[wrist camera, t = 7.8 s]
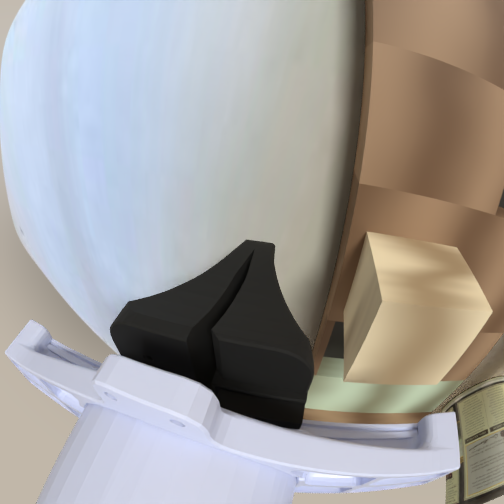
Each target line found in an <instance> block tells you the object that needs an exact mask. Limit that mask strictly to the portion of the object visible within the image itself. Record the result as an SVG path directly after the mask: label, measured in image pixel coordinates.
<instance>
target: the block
mask: <svg viewBox="0 0 504 504" xmlns="http://www.w3.org/2000/svg"><path fill="white" fill-rule="evenodd" d="M492 312H493V311H492V309H491V307H490V305H489V303H488V301H487V299H486V297H485V295H484V293H483V291H482V289H481V287H480V286H479V284H478V282H477V280H476V278H475V277H474V275H473V273H472V271H471V270H470V268H469V266H468V265H467V263H466V261H465V260H464V258H463V256H462V255H461V253H460V252H459V250H458V248H457V247H452V246H447V245H442V244H437V243H431V242H426V241H420V240H415V239H409V238H403V237H398V236H392V235H386V234H380V233H374V232H366V236H365V240H364V244H363V248H362V252H361V255H360V259H359V263H358V266H357V270H356V273H355V276H354V280H353V283H352V286H351V290H350V293H349V296H348V299H347V302H346V305H345V308H344V374H343V382H353V383H367V384H388V385H437V384H438V383H439V382H440V381H441V379H442V378H443V377H444V376H445V375H446V374H447V373H448V372H449V370H450V369H451V368H452V367H453V366H454V364H455V363H456V362H457V361H458V360H459V358H460V357H461V356H462V355H463V353H464V352H465V351H466V349H467V348H468V347H469V345H470V344H471V343H472V341H473V340H474V339H475V337H476V336H477V335H478V333H479V332H480V330H481V329H482V327H483V326H484V324H485V323H486V321H487V320H488V318H489V317H490V315H491V314H492Z"/></svg>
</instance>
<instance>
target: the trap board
mask: <svg viewBox="0 0 504 504" xmlns="http://www.w3.org/2000/svg"><path fill="white" fill-rule="evenodd" d="M366 232H374V233H380V234H386V235H392V236H398V237H403V238H409V239H415V240H420V241H426V242H431V243H437V244H442V245H447V246H452V247H457V248H458V250H459V252H460V253H461V255H462V256H463V258H464V260H465V261H466V263H467V265H468V266H469V268H470V270H471V271H472V273H473V275H474V277H475V278H476V280H477V282H478V284H479V286H480V287H481V289H482V291H483V293H484V295H485V297H486V299H487V301H488V303H489V305H490V307H491V309H492V311H493V312H492V314H491V315H490V317H489V318H488V320H487V321H486V323H485V324H484V326H483V327H482V329H481V330H480V332H479V333H478V335H477V336H476V337H475V339H474V340H473V341H472V343H471V344H470V345H469V347H468V348H467V349H466V351H465V352H464V353H463V355H462V356H461V357H460V358H459V360H458V361H457V362H456V363H455V364H454V366H453V367H452V368H451V369H450V370H449V372H448V373H447V374H446V375H445V376H444V377H443V378H442V379H441V381H440V382H439V383H438V384H437V385H388V384H367V383H353V382H343V374H344V308H345V305H346V302H347V299H348V296H349V293H350V290H351V286H352V283H353V280H354V276H355V273H356V270H357V266H358V263H359V259H360V255H361V252H362V248H363V244H364V240H365V236H366ZM503 333H504V0H365V61H364V79H363V93H362V105H361V116H360V125H359V134H358V142H357V150H356V158H355V165H354V171H353V178H352V184H351V190H350V196H349V202H348V207H347V213H346V218H345V223H344V228H343V233H342V238H341V243H340V248H339V252H338V257H337V261H336V265H335V270H334V274H333V278H332V282H331V286H330V290H329V294H328V298H327V302H326V306H325V309H324V313H323V317H322V320H321V324H320V327H319V331H318V334H317V338H316V341H315V344H314V348H313V351H312V354H313V360H314V377H313V380H312V383H311V385H310V388H309V390H308V395H307V401H306V404H305V409H304V416H303V419H305V420H314V421H324V422H336V423H354V424H409V423H418V422H419V421H420V420H421V419H422V418H423V417H425V416H427V415H429V414H432V411H433V410H434V409H436V408H437V407H438V406H439V405H440V404H441V403H442V402H443V401H444V400H445V399H446V398H447V397H448V396H449V395H450V394H452V393H453V392H454V391H455V390H456V389H457V387H458V386H459V385H460V384H461V383H462V382H463V381H464V380H465V379H466V378H467V377H468V376H469V375H470V374H471V373H472V372H473V370H474V369H475V368H476V367H477V366H478V365H479V364H480V362H481V361H482V360H483V359H484V358H485V356H486V355H487V354H488V353H489V351H490V350H491V349H492V348H493V346H494V345H495V344H496V343H497V341H498V340H499V339H500V337H501V336H502V335H503Z"/></svg>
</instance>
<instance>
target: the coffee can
mask: <svg viewBox="0 0 504 504" xmlns="http://www.w3.org/2000/svg"><path fill="white" fill-rule="evenodd" d="M443 412H455V414H456V421H457V430H458V439H459V451H460V468H459V469H458V470H456V471H453V472H451V473H449V474H447V475H446V504H483V503H486V502H488V501H490V500H493V499H495V498H497V497H500V496H502V495H504V376H499V377H495V378H492V379H489V380H486V381H484V382H482V383H479V384H477V385H475V386H473V387H471V388H469V389H468V390H466V391H464V392H463V393H461V394H459V395H458V396H456V397H455V398H454V399H452V400H451V401H450V402H449V403H448V404H446V406H445V407H444V408H443V410H442V412H441V413H443Z"/></svg>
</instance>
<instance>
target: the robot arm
mask: <svg viewBox="0 0 504 504" xmlns="http://www.w3.org/2000/svg"><path fill="white" fill-rule="evenodd" d="M274 254H275V245H274V244H273V243H267V242H260V241H252V240H246V241H244V242H243V243H242V244H241V245H239V246H238V247H237V248H236V249H235V250H234V251H232V252H231V253H230V254H229V255H228V256H226V257H225V258H224V259H222V260H221V261H220V262H219V263H217V264H216V265H214V266H213V267H212V268H210V269H209V270H207V271H206V272H204V273H203V274H201V275H199V276H197V277H196V278H194V279H192V280H190V281H188V282H186V283H184V284H181V285H179V286H177V287H175V288H173V289H170V290H168V291H165V292H162V293H159V294H156V295H153V296H150V297H146V298H142V299H138V300H134V301H129V302H128V303H127V304H126V306H125V307H124V308H123V309H122V311H121V312H120V314H119V315H118V316H117V318H116V319H115V320H114V322H113V323H112V325H111V327H110V333H111V336H112V339H113V341H114V343H115V345H116V347H117V349H118V350H119V352H120V354H121V356H120V355H116V354H110V355H109V356H107V357H106V359H105V360H104V362H103V363H100V362H98V361H95V360H93V359H91V358H89V357H87V356H85V355H83V354H81V353H79V352H77V351H75V350H72V349H71V348H69V347H67V346H65V345H63V344H61V343H59V342H58V341H56V340H54V339H52V336H51V335H50V333H49V332H48V330H47V329H46V328H45V327H44V326H42V325H41V324H38V323H37V322H35V321H34V320H30V321H29V322H28V323H27V325H26V326H25V327H24V329H23V330H22V331H21V332H20V333H19V335H18V336H17V337H16V338H15V339H14V341H13V342H12V343H11V345H10V346H9V347H8V349H7V350H6V351H5V354H6V355H7V357H8V358H9V359H10V360H11V361H12V363H13V364H14V365H15V366H16V367H17V368H18V370H19V371H20V372H21V373H22V374H23V375H24V376H25V377H26V378H27V380H28V381H29V382H30V383H32V384H33V385H34V386H35V387H37V388H38V389H39V390H41V391H42V392H43V393H45V394H46V395H47V396H48V397H50V398H51V399H53V400H54V401H55V402H57V403H58V404H59V405H61V406H62V407H64V408H65V409H67V410H68V411H69V412H71V413H72V414H74V415H75V416H77V417H78V418H79V419H78V421H77V423H76V425H75V427H74V428H73V430H72V432H71V434H70V435H69V437H68V439H67V441H66V443H65V445H64V447H63V449H62V451H61V452H60V454H59V456H58V458H57V460H56V463H55V464H54V466H53V468H52V470H51V472H50V474H49V477H48V478H47V481H46V483H45V485H44V487H43V489H42V491H41V493H40V496H39V498H38V500H37V502H36V504H292V499H293V496H294V492H300V493H354V492H368V491H379V490H388V489H396V488H403V487H410V486H417V485H423V484H426V483H429V482H431V481H433V480H436V479H438V478H440V477H443V476H445V475H447V474H449V473H451V472H453V471H456V470H458V469H459V468H460V451H459V439H458V430H457V421H456V414H455V412H443V413H433V414H429V415H427V416H425V417H423V418H422V419H421V420H420V421H419V422H418V423H409V424H354V423H336V422H324V421H314V420H305V419H303V416H304V409H305V404H306V401H307V395H308V390H309V388H310V385H311V383H312V380H313V377H314V360H313V354H312V350H311V346H310V342H309V339H308V338H307V337H306V335H305V334H304V333H303V331H302V330H301V329H300V327H299V326H298V324H297V323H296V321H295V319H294V318H293V316H292V314H291V312H290V310H289V308H288V306H287V304H286V302H285V300H284V298H283V295H282V292H281V290H280V287H279V283H278V280H277V276H276V271H275V266H274Z"/></svg>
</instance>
